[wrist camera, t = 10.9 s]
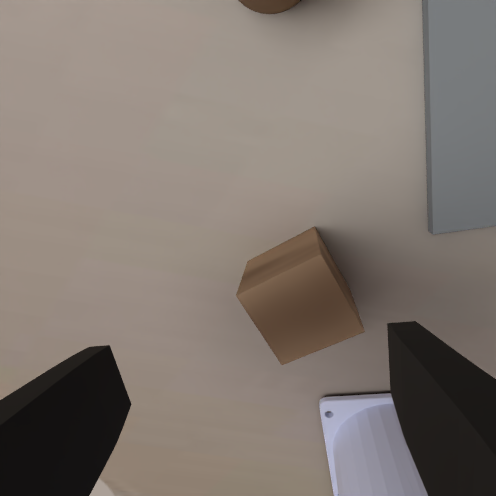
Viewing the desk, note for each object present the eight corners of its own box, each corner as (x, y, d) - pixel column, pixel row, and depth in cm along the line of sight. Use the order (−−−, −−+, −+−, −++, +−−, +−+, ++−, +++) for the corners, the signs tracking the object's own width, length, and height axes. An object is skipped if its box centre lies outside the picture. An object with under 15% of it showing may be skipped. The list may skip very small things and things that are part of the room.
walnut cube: (349, 288, 18) (364, 331, 14) (284, 318, 19) (281, 365, 15) (314, 226, 17) (320, 254, 13) (248, 260, 18) (235, 295, 14)
